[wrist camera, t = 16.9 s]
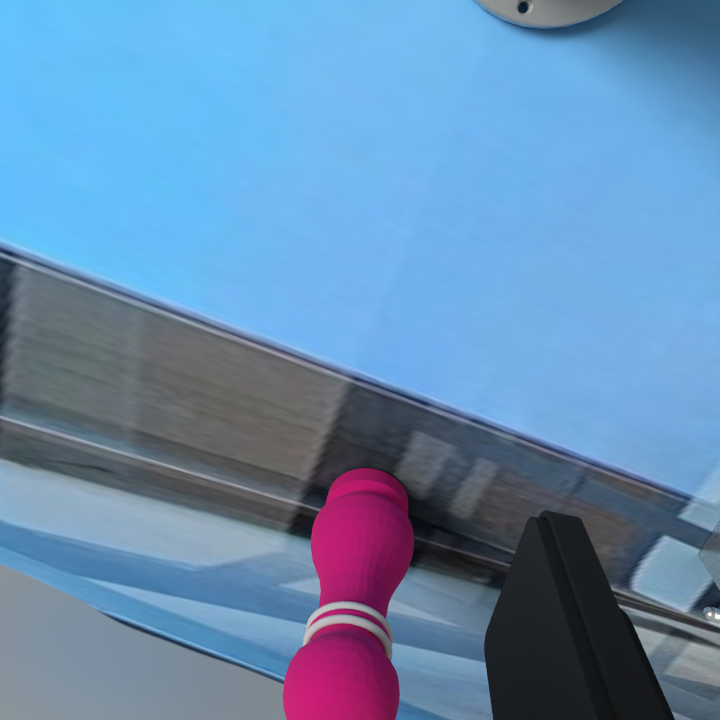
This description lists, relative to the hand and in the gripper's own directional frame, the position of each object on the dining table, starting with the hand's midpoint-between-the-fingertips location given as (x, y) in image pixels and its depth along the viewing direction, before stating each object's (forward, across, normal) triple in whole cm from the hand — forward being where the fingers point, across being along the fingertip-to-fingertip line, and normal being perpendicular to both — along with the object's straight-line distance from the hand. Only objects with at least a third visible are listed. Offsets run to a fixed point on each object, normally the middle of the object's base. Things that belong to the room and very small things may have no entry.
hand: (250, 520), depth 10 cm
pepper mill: (+29, -4, +20) cm, 35 cm away
